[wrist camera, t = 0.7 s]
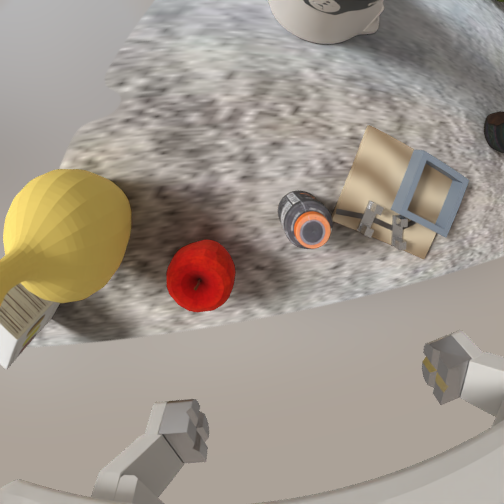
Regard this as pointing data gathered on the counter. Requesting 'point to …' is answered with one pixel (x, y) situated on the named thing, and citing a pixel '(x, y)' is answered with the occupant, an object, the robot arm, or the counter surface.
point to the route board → (390, 191)
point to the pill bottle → (305, 220)
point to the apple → (201, 276)
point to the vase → (65, 235)
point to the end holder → (410, 184)
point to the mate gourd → (495, 131)
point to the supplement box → (21, 321)
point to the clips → (397, 225)
